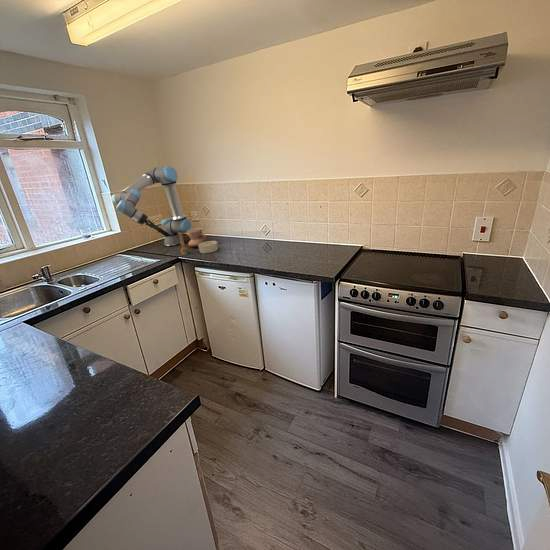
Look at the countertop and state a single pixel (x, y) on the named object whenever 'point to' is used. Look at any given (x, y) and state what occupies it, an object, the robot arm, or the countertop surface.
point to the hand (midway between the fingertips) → (166, 234)
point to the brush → (182, 245)
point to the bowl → (208, 247)
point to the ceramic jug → (196, 237)
